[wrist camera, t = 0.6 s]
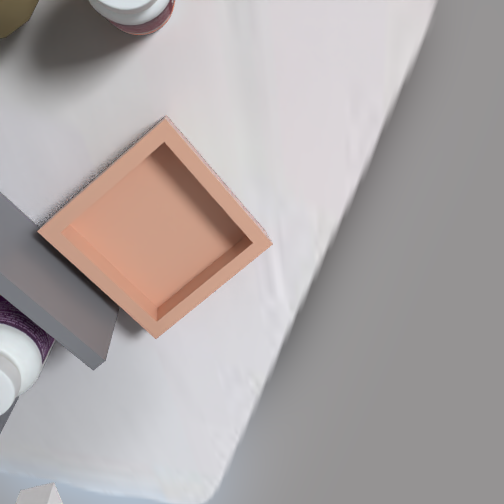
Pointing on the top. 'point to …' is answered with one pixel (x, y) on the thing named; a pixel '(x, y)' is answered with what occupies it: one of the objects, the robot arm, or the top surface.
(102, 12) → the pill bottle
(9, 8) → the squeeze bottle
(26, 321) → the pill bottle
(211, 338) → the top surface
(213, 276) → the dish
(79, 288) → the bay
